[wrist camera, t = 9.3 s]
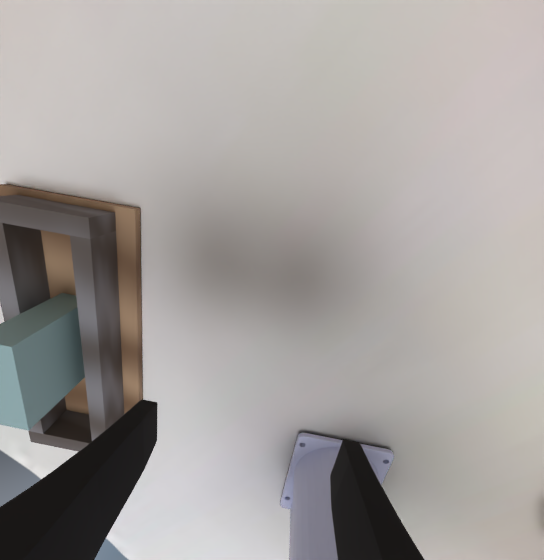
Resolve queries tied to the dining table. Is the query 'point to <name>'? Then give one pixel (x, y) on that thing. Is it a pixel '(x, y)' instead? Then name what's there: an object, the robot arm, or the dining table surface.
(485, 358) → the dining table surface
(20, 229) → the floor track
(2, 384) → the door panel
